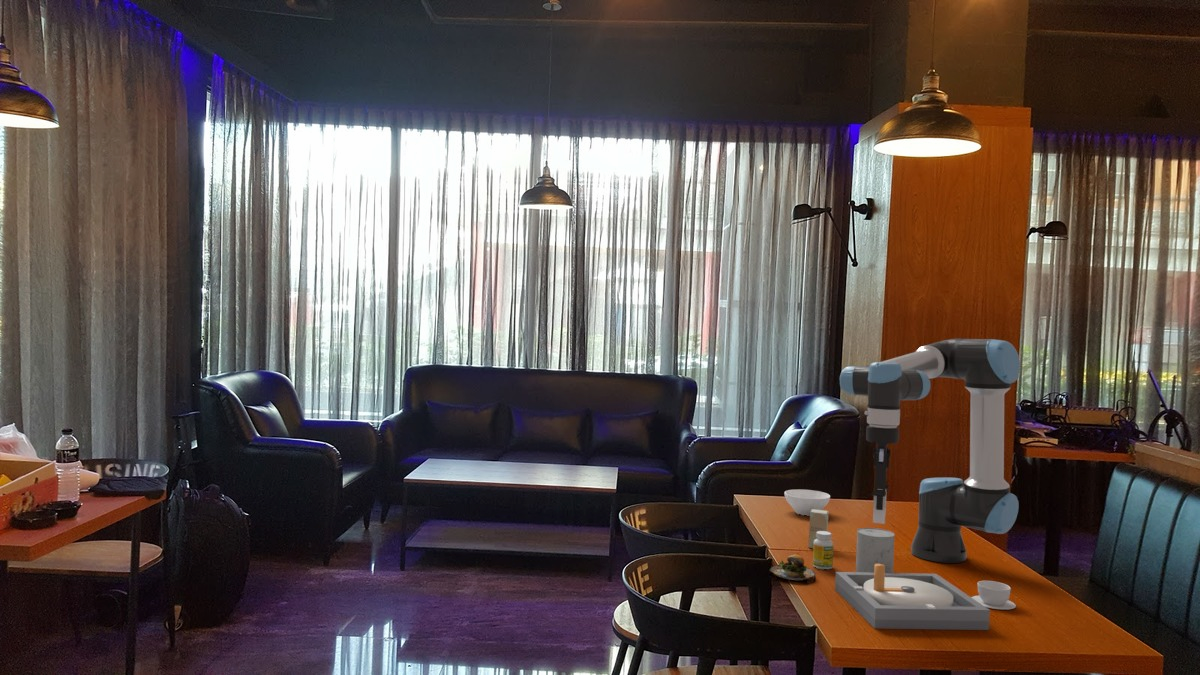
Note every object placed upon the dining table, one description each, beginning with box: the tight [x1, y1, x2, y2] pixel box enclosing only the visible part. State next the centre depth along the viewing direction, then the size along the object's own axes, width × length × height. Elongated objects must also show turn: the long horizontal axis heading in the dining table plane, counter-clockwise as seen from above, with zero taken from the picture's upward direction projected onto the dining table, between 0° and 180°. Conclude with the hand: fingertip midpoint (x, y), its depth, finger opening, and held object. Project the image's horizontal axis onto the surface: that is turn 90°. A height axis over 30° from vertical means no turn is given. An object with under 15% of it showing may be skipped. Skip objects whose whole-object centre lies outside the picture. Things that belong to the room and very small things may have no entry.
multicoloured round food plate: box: [769, 547, 817, 584], centre depth 214 cm, size 12×12×8 cm
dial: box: [864, 564, 953, 606], centre depth 192 cm, size 20×20×8 cm
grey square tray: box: [834, 571, 991, 631], centre depth 192 cm, size 26×26×5 cm
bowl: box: [783, 488, 831, 517], centre depth 288 cm, size 16×16×7 cm
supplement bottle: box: [812, 531, 834, 570], centre depth 223 cm, size 5×5×10 cm
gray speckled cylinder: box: [855, 527, 895, 573], centre depth 215 cm, size 10×10×12 cm
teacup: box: [970, 580, 1017, 611], centre depth 197 cm, size 10×10×5 cm
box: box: [807, 509, 829, 549], centre depth 243 cm, size 5×4×11 cm
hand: (879, 518), depth 196 cm, fingers open, 8 cm apart
